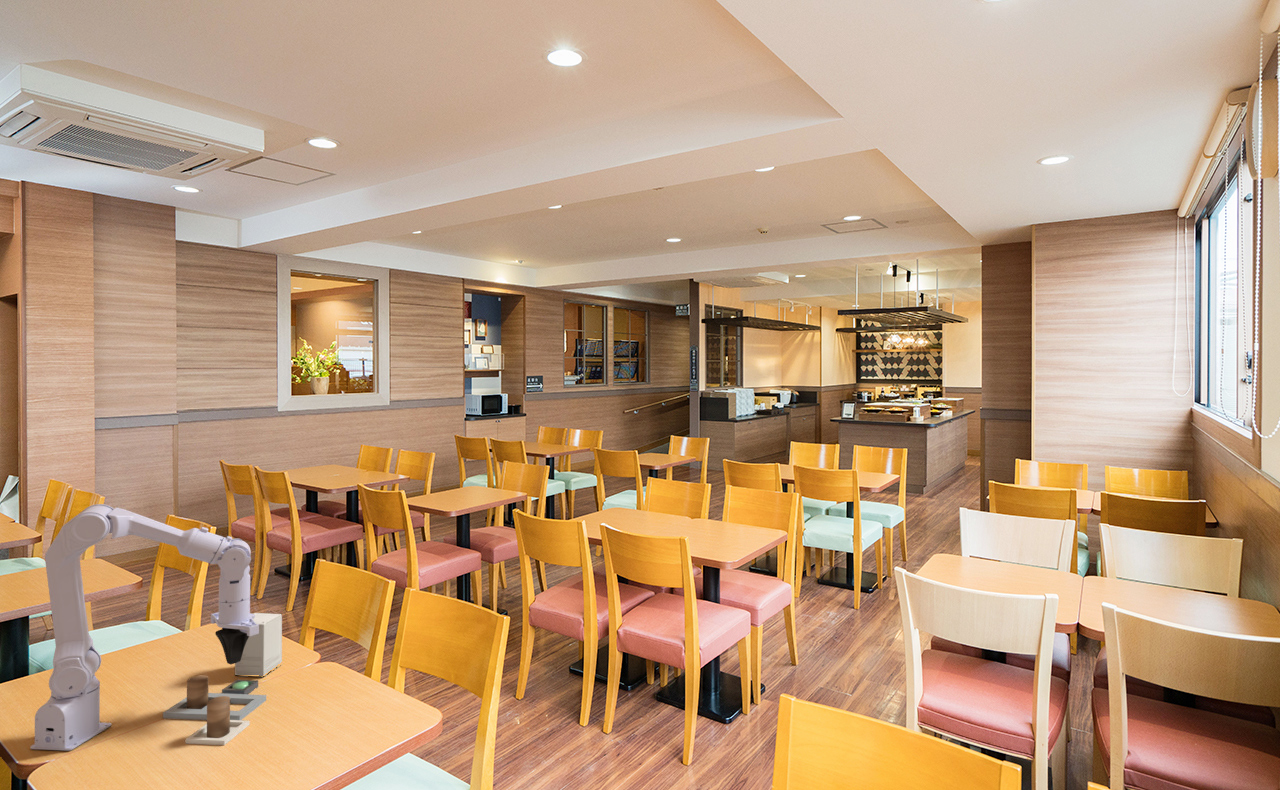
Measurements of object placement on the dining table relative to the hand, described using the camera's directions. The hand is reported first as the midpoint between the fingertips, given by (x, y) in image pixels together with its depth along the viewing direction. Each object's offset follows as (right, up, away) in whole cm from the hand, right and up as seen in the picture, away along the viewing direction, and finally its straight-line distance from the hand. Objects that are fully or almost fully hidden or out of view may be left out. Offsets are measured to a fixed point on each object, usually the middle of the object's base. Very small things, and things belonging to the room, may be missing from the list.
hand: (233, 662), depth 143 cm
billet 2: (+4, -9, -12) cm, 16 cm away
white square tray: (+4, -10, -12) cm, 16 cm away
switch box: (-2, -9, +6) cm, 11 cm away
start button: (-2, -10, +6) cm, 12 cm away
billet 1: (-7, -9, -2) cm, 11 cm away
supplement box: (-5, -9, +18) cm, 20 cm away
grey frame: (-3, -9, -2) cm, 10 cm away
